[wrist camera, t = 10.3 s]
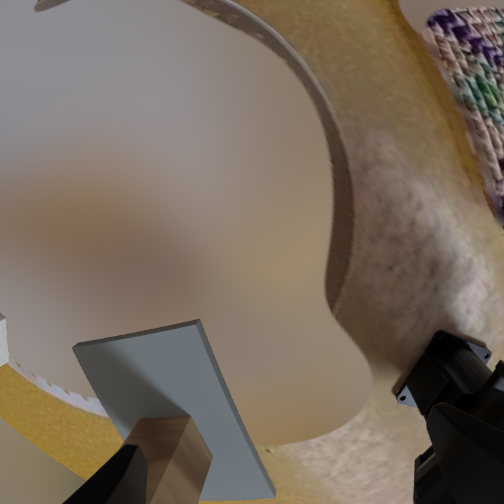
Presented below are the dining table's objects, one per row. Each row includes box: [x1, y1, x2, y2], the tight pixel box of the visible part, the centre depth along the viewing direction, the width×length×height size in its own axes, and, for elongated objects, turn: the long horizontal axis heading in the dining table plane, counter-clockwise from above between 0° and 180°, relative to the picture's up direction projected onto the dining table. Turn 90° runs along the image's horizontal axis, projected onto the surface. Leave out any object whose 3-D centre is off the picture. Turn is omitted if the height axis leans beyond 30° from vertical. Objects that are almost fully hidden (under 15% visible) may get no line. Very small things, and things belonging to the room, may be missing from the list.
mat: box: [72, 319, 276, 501], centre depth 23 cm, size 12×20×1 cm, turn 17°
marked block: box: [119, 416, 213, 504], centre depth 16 cm, size 5×5×13 cm
